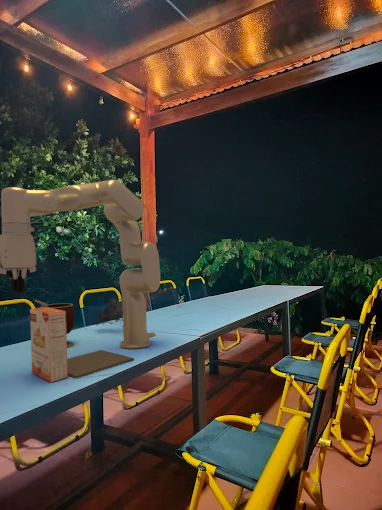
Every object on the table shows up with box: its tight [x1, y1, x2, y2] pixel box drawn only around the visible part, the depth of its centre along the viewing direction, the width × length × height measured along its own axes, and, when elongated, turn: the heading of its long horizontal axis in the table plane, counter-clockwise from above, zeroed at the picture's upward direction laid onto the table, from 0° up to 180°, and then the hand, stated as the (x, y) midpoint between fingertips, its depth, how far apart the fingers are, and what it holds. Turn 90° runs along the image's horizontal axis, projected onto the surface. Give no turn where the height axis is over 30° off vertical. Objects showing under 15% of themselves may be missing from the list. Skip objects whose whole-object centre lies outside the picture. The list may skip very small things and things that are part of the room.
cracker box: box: [29, 307, 69, 384], centre depth 112 cm, size 14×6×21 cm, turn 45°
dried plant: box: [92, 286, 179, 328], centre depth 173 cm, size 30×31×45 cm
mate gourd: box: [34, 299, 76, 349], centre depth 150 cm, size 16×14×20 cm
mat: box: [67, 349, 135, 379], centre depth 124 cm, size 23×19×1 cm
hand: (18, 292), depth 105 cm, fingers closed
